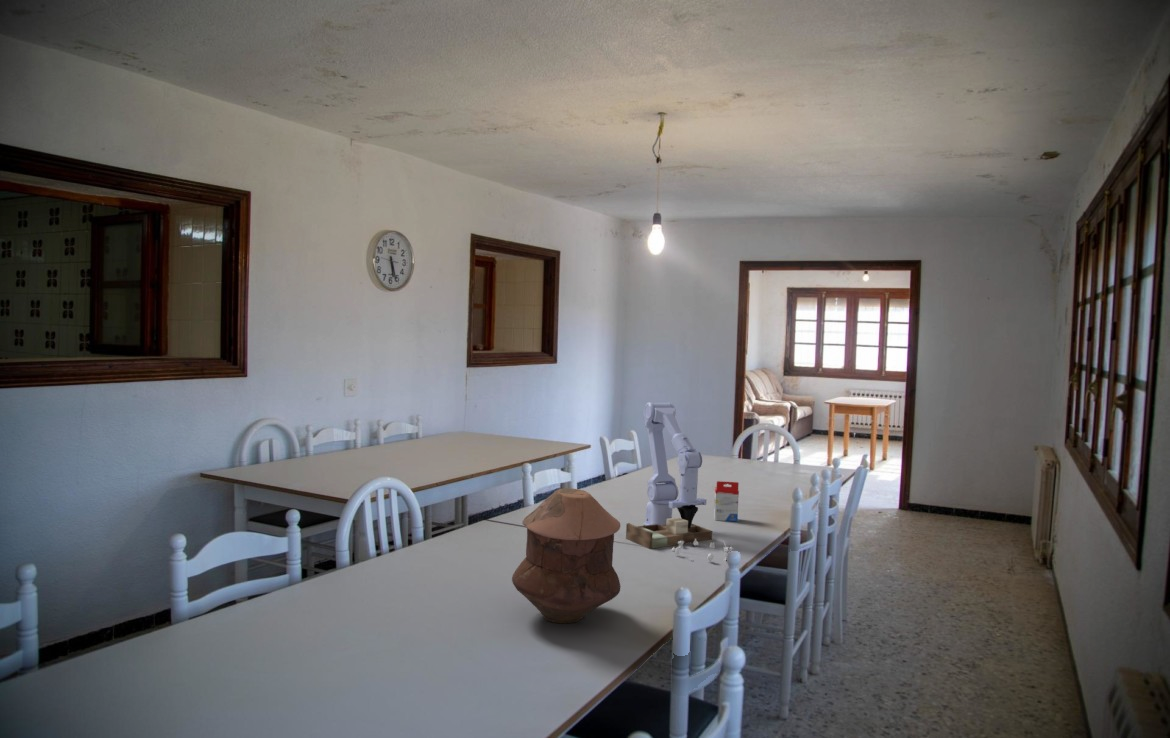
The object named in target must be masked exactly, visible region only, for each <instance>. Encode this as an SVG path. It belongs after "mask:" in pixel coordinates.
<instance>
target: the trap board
mask: <svg viewBox="0 0 1170 738" xmlns="http://www.w3.org/2000/svg"><path fill="white" fill-rule="evenodd" d="M625 539H626V540H629V541H631V542H632V543H635V544H638V545H640V546H643V547H644V548H647V549H649V550H650V549H658V548H664V547H665V548H666V547H670V546H673V547H674V546H679V543H678V541H684V543H683V545H687V544H693V542H694V541H695V539H696V541H697V542H698V543H701V542H707V541H713V530H711V529H707V528H705V527H702V526H699V525H696V524H695V523H693V522H692V523H691V527H690V528H689V529H688V533H683V534H673V533H671V532H668V531H666V525H659V524H653V525H634V524H633V523H630V522H628V523H626V529H625Z"/></svg>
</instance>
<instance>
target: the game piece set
mask: <svg viewBox="0 0 1170 738" xmlns="http://www.w3.org/2000/svg"><path fill="white" fill-rule="evenodd" d="M678 543H679V545H677V546H676V547H675V546H673V547H672V548H671V552H674V554H675V556H676V557H679V556H680V551H681V549H683V548H684V546H683V545H684V544H683V543H684V541H678ZM692 545H694V547H696V546H698V547H699V542H697V541H696V539H695V541H694V542H693V543H692ZM722 547H723V553H724V558H723V559H722V561H723V562H727V561H726V558H727V555H726V553H727V552H728V551H729V552H730V551H732V552H733V550H734V548H733V547H732V546H730V547H729V546H727V544H726V542H725V541H723V546H722ZM709 548H710V549H716V546H715V542H710V543H709ZM725 551H726V552H725ZM686 558H688V561H689V562H694V558H690V557H689V556H688V555H687V556H686ZM713 559H714V555H713V554H712V553H708V555H707V558H706V561H707V563H709V564H711V563H712V560H713Z"/></svg>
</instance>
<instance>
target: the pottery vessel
mask: <svg viewBox="0 0 1170 738" xmlns="http://www.w3.org/2000/svg"><path fill="white" fill-rule="evenodd" d="M521 523H522V525H523V526H525V528H526V544H525V547H526V548H525V557H524V559H523V560H522V561H521V562H520V564H519V565H518V567H517V568H516V569H515V571H514V572H513V574H512V577H511V583H512V584H513V586H514V587H515V589H516V590H517V592H519V593H520V594H521V595H522V596H524V598H526V599H527V601H529V602H530V603H531V604H532V605H533V607H534V608H535V609H537V610H538V611H539V613H541V614H542V616H543V618H544V619H545V620H547V621H549V622H552V623H556V624H569V623H570V624H571V623H575V622H579V621H581V620H582V618H583V617H584V615H586V614H588V613H590V612H591V611H593V610H595V609H597V608H599V607H600V606H602V605H604V604H606V603H607V602H610V601H612V600H613V599H615V598H617V596H618V595H619V594H620V591H621V583H620V578H619V576H618V574H617V572H616V570H615V568H614V567H613V559H614V558H613V557H614V556H613V555H614V543H615V542H614V541H615V534H616V533H617V532H619V530H620V529H621V522H620V521H619V520H618V519H617V518H616V517H614V516H613V515H612V514H611V513H610V512H608V511H607V510H606V509H605V508H604V507H603V505H601V504H600V503H599V501H597V499H596V498H595V497H594V496H592V494H591V493H589V492H587V491H586V490H583V489H577V488H571V487H568V488H565V487H564V488H559V489H556V490H555V491H554V492H552V494H550V495H549V496H548V497H547V498H546V499H544V500H543V502H541V503H540V504H539V505H538V506H537V507H536V508H535V509H534V510H533V511H531V513H529V514H528V515H526V516H525V517H524V518H523V520H522V522H521Z"/></svg>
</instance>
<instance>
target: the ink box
mask: <svg viewBox="0 0 1170 738" xmlns="http://www.w3.org/2000/svg"><path fill="white" fill-rule="evenodd" d="M724 485H725V486H724ZM727 485H728V486H727ZM739 493H740V490H739V482H737V481H722V480H721V481H720V480H718V481H716V487H714V502H713V503H714V504H713V505H714V506H713V519H714V521H722V522H737V523H738V520H739V517H738V516H739V515H738V513H739V495H740V494H739Z"/></svg>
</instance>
